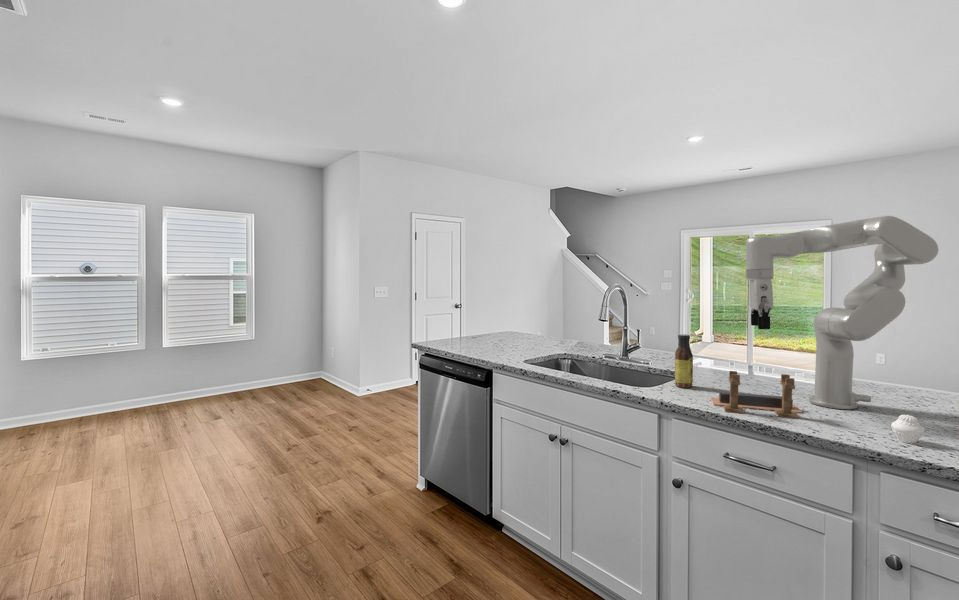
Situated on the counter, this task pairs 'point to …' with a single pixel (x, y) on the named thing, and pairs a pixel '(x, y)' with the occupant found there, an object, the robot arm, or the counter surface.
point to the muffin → (907, 429)
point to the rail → (753, 399)
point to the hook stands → (785, 412)
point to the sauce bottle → (683, 363)
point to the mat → (717, 403)
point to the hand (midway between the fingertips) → (760, 327)
